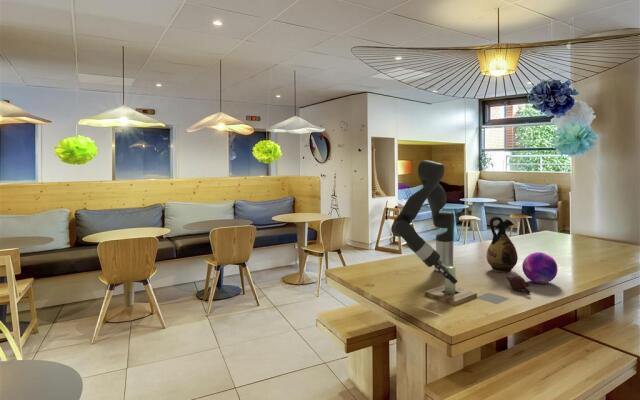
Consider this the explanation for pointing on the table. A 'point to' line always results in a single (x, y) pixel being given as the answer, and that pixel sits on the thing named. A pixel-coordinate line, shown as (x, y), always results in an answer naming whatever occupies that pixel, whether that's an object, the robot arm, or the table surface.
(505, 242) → the ceramic jug
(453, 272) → the ball
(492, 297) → the mat
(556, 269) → the decorative orb
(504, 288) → the table surface
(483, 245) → the table surface
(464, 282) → the table surface
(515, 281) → the icecream
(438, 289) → the pocket block
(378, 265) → the table surface
